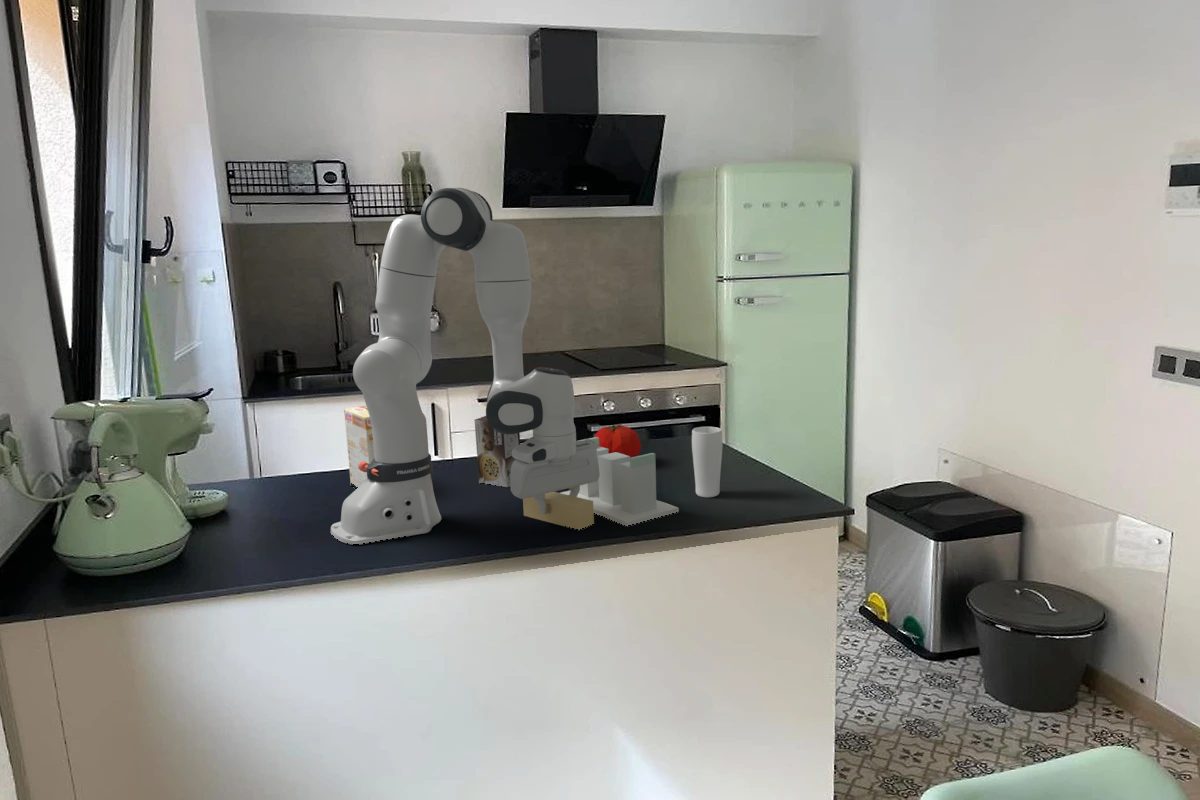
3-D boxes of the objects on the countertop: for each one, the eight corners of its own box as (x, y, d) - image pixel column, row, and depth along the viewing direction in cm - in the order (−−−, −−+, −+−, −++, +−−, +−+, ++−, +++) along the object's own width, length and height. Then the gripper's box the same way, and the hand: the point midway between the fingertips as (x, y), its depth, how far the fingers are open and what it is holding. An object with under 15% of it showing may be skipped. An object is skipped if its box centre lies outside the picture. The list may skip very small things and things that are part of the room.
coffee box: (523, 481, 210) (520, 416, 207) (507, 488, 205) (503, 421, 202) (494, 476, 215) (490, 413, 212) (477, 483, 209) (473, 418, 206)
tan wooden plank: (579, 530, 174) (578, 506, 173) (523, 515, 184) (522, 493, 183) (594, 524, 177) (593, 500, 176) (538, 510, 187) (537, 488, 186)
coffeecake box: (400, 494, 203) (394, 413, 199) (371, 500, 199) (363, 417, 195) (378, 480, 215) (371, 404, 211) (349, 486, 211) (342, 407, 207)
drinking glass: (721, 499, 190) (721, 433, 187) (691, 498, 192) (690, 432, 189) (723, 490, 197) (723, 426, 194) (693, 489, 198) (693, 426, 195)
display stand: (626, 526, 175) (624, 464, 172) (556, 498, 195) (553, 442, 193) (678, 512, 183) (677, 452, 180) (605, 486, 204) (603, 432, 201)
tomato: (611, 457, 230) (610, 418, 228) (650, 462, 223) (649, 422, 221) (581, 468, 220) (579, 428, 218) (621, 475, 212) (620, 433, 210)
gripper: (587, 435, 186) (589, 496, 189) (504, 451, 174) (508, 516, 177) (604, 439, 181) (606, 503, 184) (520, 456, 169) (524, 524, 172)
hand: (557, 510), depth 180 cm, fingers closed on tan wooden plank, 5 cm apart
